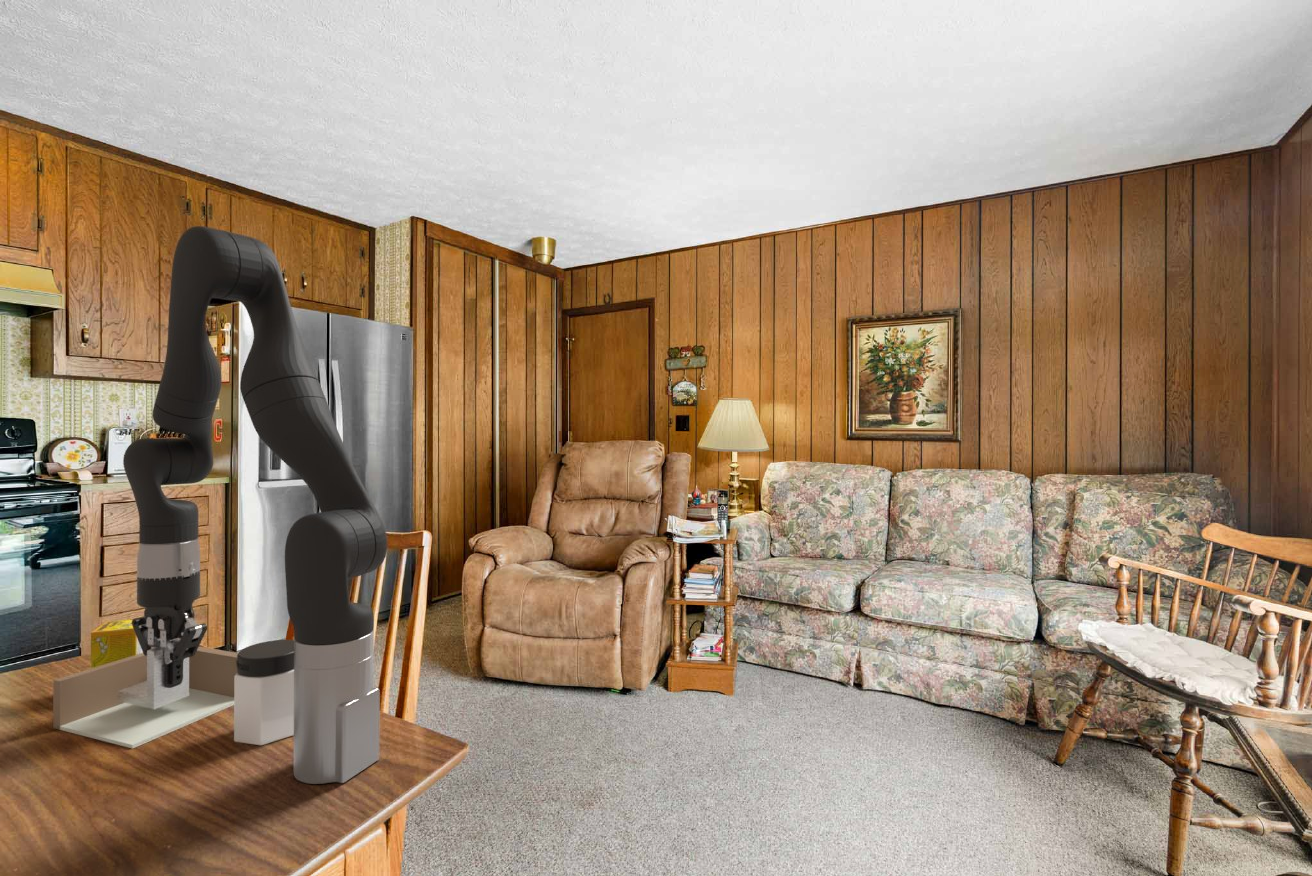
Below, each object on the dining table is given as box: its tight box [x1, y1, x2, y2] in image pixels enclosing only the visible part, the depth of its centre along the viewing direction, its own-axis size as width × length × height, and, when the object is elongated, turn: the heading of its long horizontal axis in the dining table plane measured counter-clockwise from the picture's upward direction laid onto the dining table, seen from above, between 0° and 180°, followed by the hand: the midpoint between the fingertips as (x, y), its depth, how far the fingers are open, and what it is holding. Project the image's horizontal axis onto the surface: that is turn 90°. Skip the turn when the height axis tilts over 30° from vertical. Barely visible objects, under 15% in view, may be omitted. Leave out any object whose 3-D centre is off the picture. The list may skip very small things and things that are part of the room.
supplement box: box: [90, 618, 143, 669], centre depth 103 cm, size 6×6×11 cm
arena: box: [52, 645, 239, 749], centre depth 95 cm, size 17×17×7 cm
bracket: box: [117, 646, 189, 709], centre depth 95 cm, size 8×5×8 cm, turn 71°
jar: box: [233, 639, 294, 746], centre depth 90 cm, size 9×8×12 cm
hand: (168, 684), depth 94 cm, fingers closed on bracket, 1 cm apart
